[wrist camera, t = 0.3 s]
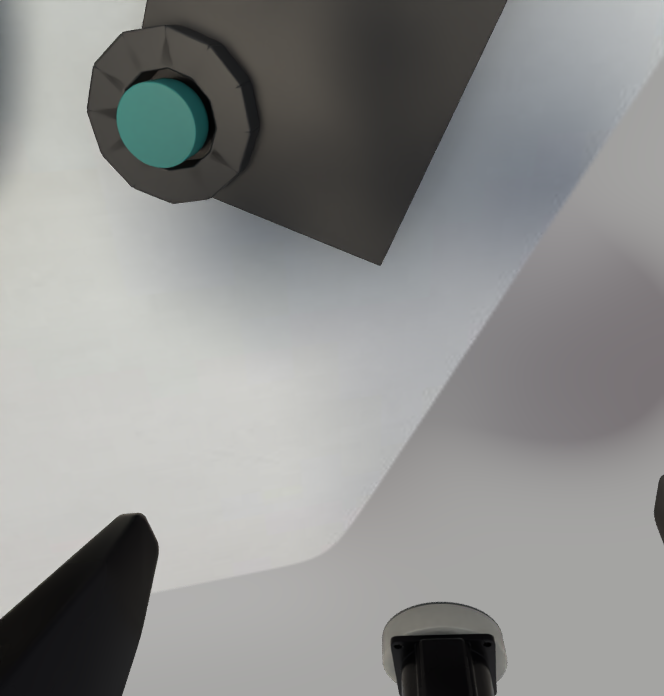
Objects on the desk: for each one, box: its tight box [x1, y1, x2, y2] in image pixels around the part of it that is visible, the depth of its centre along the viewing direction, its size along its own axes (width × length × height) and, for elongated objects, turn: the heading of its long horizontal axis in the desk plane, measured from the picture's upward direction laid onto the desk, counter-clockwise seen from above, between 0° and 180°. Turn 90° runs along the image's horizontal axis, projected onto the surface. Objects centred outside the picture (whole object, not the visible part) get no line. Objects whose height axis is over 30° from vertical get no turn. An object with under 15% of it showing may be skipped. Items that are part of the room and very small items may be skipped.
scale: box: [87, 0, 507, 266], centre depth 18 cm, size 14×12×3 cm
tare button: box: [116, 78, 209, 168], centre depth 18 cm, size 3×3×2 cm
